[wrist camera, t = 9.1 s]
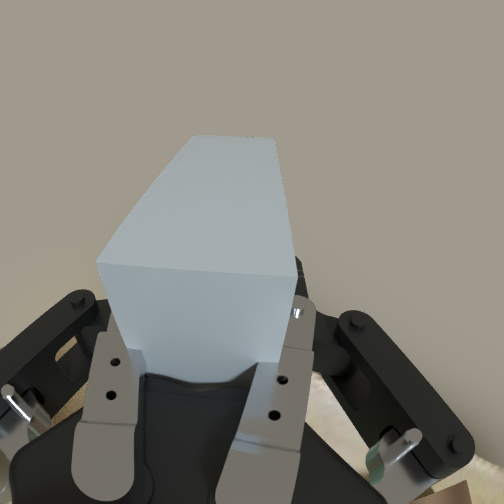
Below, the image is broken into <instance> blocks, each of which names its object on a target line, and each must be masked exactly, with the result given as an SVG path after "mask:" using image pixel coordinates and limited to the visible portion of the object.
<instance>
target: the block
mask: <svg viewBox="0 0 504 504" xmlns="http://www.w3.org/2000/svg"><path fill="white" fill-rule="evenodd" d="M95 263H96V266H97V270H98V273H99V276H100V279H101V282H102V285H103V288H104V291H105V294H106V297H107V299H108V302H109V305H110V308H111V310H112V313H113V316H114V318H115V321H116V323H117V326H118V328H119V331H120V333H121V336H122V338H123V340H124V343H125V345H126V348H131V349H137V350H142V353H143V356H144V359H145V361H146V364H147V368H146V370H145V374H146V375H147V376H148V377H150V378H156V379H163V380H167V381H170V382H172V383H175V384H178V385H181V386H183V387H186V388H189V389H192V390H195V391H206V390H215V389H222V388H230V387H238V388H251V385H252V382H253V378H254V375H255V372H256V368H257V365H258V362H279V360H280V356H281V351H282V347H283V343H284V339H285V334H286V330H287V326H288V321H289V317H290V312H291V308H292V303H293V298H294V294H295V289H296V284H297V279H298V273H297V267H296V260H295V253H294V247H293V242H292V234H291V228H290V222H289V216H288V211H287V205H286V199H285V193H284V188H283V182H282V177H281V171H280V166H279V161H278V155H277V150H276V145H275V140H274V139H268V138H254V137H235V136H195V135H194V136H193V137H192V138H191V139H190V140H189V141H188V142H187V144H186V145H185V146H184V147H183V148H182V149H181V150H180V151H179V153H178V154H177V155H176V156H175V157H174V158H173V159H172V161H171V162H170V163H169V164H168V165H167V167H166V168H165V169H164V170H163V171H162V172H161V174H160V175H159V176H158V178H157V179H156V180H155V181H154V182H153V184H152V185H151V186H150V187H149V189H148V190H147V191H146V192H145V194H144V195H143V196H142V197H141V199H140V200H139V201H138V203H137V204H136V205H135V207H134V208H133V209H132V211H131V212H130V213H129V215H128V216H127V217H126V219H125V220H124V222H123V223H122V224H121V225H120V227H119V228H118V230H117V231H116V233H115V234H114V236H113V237H112V238H111V240H110V241H109V243H108V244H107V246H106V247H105V248H104V250H103V251H102V253H101V254H100V256H99V257H98V259H97V260H96V262H95Z"/></svg>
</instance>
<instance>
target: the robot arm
mask: <svg viewBox="0 0 504 504" xmlns="http://www.w3.org/2000/svg"><path fill="white" fill-rule="evenodd" d="M295 260H296V267H297V273H298V279H297V284H296V289H295V294H294V298H293V303H292V308H291V312H290V317H289V321H288V326H287V330H286V334H285V339H284V343H283V347H282V351H281V356H280V360H279V362H258V365H257V368H256V372H255V375H254V378H253V382H252V385H251V388H238V387H230V388H222V389H215V390H206V391H195V390H192V389H189V388H186V387H183V386H181V385H178V384H175V383H172V382H170V381H167V380H163V379H156V378H150V377H148V376H147V375H146V374H145V370H146V368H147V364H146V361H145V359H144V356H143V353H142V350H137V349H131V348H126V345H125V343H124V340H123V338H122V336H121V333H120V331H119V328H118V326H117V323H116V321H115V318H114V316H113V313H112V310H111V308H110V305H109V302H108V299H105V300H96V299H95V296H94V294H93V293H92V292H91V291H89V290H83V289H82V290H76V291H73V292H71V293H70V294H68V295H67V296H66V297H64V298H63V299H62V300H60V301H59V302H58V303H57V304H55V305H54V306H53V307H51V308H50V309H49V310H48V311H46V312H45V313H44V314H43V315H42V316H40V317H39V318H38V319H37V320H35V322H33V323H32V324H31V325H29V326H28V327H27V328H26V329H25V330H24V331H22V332H21V333H20V334H19V335H18V336H17V337H15V338H14V339H13V340H12V341H11V342H10V343H9V344H7V345H6V346H5V347H4V348H3V349H2V350H1V351H0V504H5V503H8V502H10V501H11V500H12V504H409V503H410V502H411V501H413V500H414V499H415V498H416V497H418V496H419V495H420V494H422V493H423V492H424V491H425V490H427V489H428V488H429V487H430V486H432V485H434V484H436V483H437V482H439V481H441V480H443V479H444V478H446V477H448V476H450V475H451V474H453V473H455V472H456V471H458V470H459V469H461V468H462V467H464V466H466V465H467V464H468V463H469V462H470V461H471V459H472V458H473V456H474V451H475V443H474V440H473V437H472V436H471V434H470V433H469V431H468V430H467V429H466V428H465V426H464V425H463V424H462V423H461V421H460V420H459V419H458V418H457V416H456V415H455V414H454V413H453V412H452V410H451V409H450V408H449V406H448V405H447V404H446V403H445V402H444V401H443V399H442V398H441V397H440V396H439V394H438V393H437V392H436V391H435V389H434V388H433V387H432V386H431V385H430V384H429V382H428V381H427V380H426V379H425V378H424V376H423V375H422V374H421V373H420V372H419V371H418V369H417V368H416V367H415V366H414V365H413V364H412V362H411V361H410V360H409V359H408V358H407V357H406V356H405V354H404V353H403V352H402V351H401V350H400V349H399V348H398V346H397V345H396V344H395V343H394V342H393V341H392V340H391V338H390V337H389V336H388V335H387V334H386V333H385V332H384V331H383V330H382V328H381V327H380V326H379V325H378V324H377V323H376V322H375V321H374V320H373V318H371V317H370V316H369V315H368V314H366V313H363V312H361V311H356V310H351V311H346V312H344V313H342V314H341V315H340V317H339V319H338V318H335V317H331V316H327V315H324V314H322V313H320V312H318V311H317V310H316V307H315V305H314V303H313V302H312V301H311V300H309V298H308V293H307V288H306V283H305V278H304V273H303V269H302V264H301V261H300V260H299V259H298V258H297V257H296V256H295ZM74 336H75V338H76V340H77V343H76V344H75V345H74V346H73V347H72V348H71V349H70V350H69V351H67V352H66V353H65V354H64V355H63V356H62V357H61V358H60V359H59V360H58V361H57V362H56V361H55V356H56V353H57V352H58V350H59V349H60V348H61V347H63V346H64V345H65V344H66V343H67V342H68V341H69V340H70V339H71V338H72V337H74ZM312 371H316V372H320V373H321V376H322V378H323V379H324V381H325V382H326V384H327V385H328V387H329V388H330V390H331V391H332V393H333V394H334V396H335V398H336V399H337V401H338V402H339V404H340V405H341V407H342V408H343V410H344V411H345V413H346V414H347V416H348V417H349V419H350V420H351V422H352V423H353V425H354V426H355V428H356V429H357V431H358V433H359V434H360V436H361V437H362V439H363V440H364V442H365V443H366V445H367V446H368V448H369V449H370V450H369V451H368V453H367V455H366V467H367V469H368V471H369V474H370V482H369V483H368V482H367V481H366V480H365V479H364V478H363V477H362V476H361V475H359V474H358V473H357V472H356V471H355V470H354V469H353V468H352V467H351V466H350V465H349V464H348V463H347V462H345V461H344V460H343V459H342V458H341V457H340V456H339V455H338V454H337V453H336V452H335V451H334V450H333V449H332V448H331V447H330V446H329V445H328V444H327V443H326V442H325V441H324V440H323V439H322V438H321V437H320V436H319V435H318V434H317V433H316V432H315V431H314V430H313V429H312V428H311V427H310V426H309V425H308V424H307V423H306V422H305V417H306V411H307V404H308V397H309V390H310V383H311V375H312ZM87 381H88V384H87V389H86V395H85V402H84V407H82V408H81V409H79V410H78V411H76V412H75V413H73V414H72V415H70V416H69V417H67V418H66V419H64V420H63V421H61V422H60V423H58V424H57V425H55V426H54V427H52V428H50V424H51V419H52V418H53V417H54V416H55V414H56V413H57V412H58V411H59V410H60V409H61V408H62V407H63V406H64V405H65V404H66V403H67V402H68V401H69V400H70V398H71V397H72V396H73V395H74V394H75V393H76V392H77V391H78V390H79V389H80V388H81V387H82V386H83V385H84V384H85V383H86V382H87Z"/></svg>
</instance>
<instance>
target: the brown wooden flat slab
mask: <svg viewBox="0 0 504 504" xmlns="http://www.w3.org/2000/svg"><path fill="white" fill-rule="evenodd" d="M409 504H472V503H471V498H470V493H469V489H468V485H467V481H466V480H465V481H462V482H460V483H458V484H456V485H453V486H451V487H449V488H446V489H444V490H441V491H439V492H436V493H433V494H431V495H428V496H425V497H422V498H419V499H416V500H413V501H411V502H410V503H409Z"/></svg>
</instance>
